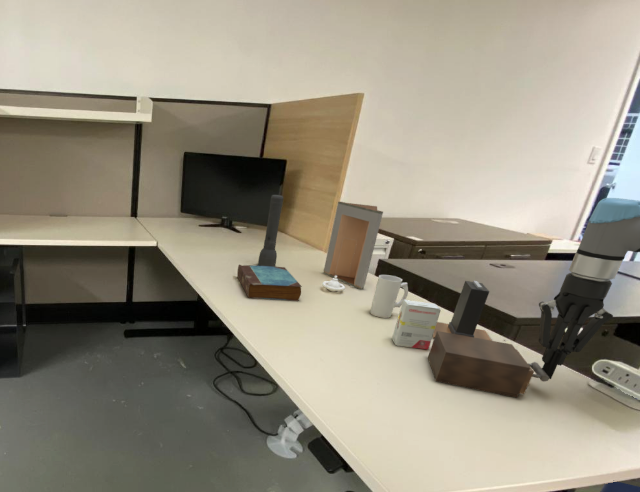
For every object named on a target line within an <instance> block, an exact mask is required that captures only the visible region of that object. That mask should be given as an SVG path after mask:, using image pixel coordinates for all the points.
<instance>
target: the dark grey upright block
mask: <svg viewBox="0 0 640 492" xmlns="http://www.w3.org/2000/svg"><path fill="white" fill-rule="evenodd" d="M489 294H490V290H489V289H488V288H487V287H486V286H485V284H483V283H482V282H479V281H477V280H473V281H470V280H465V281H464V283H463V286H462V289H461V292H460V295H459V297H458V300H457V303H456V306H455V309H454V311H453V314H452V317H451V320H450V321H449V322H448V324H449V325H448V327H449V329H450V331H451V333H452V334H457V335H463V336H468V337H474V332H475V329H477V327H478V323H479V322H480V318H481V316H482V313H483V311H484V308H485V306H486V305H485V304H486V302H487V300H488V297H489Z"/></svg>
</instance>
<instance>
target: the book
mask: <svg viewBox="0 0 640 492" xmlns="http://www.w3.org/2000/svg"><path fill="white" fill-rule="evenodd" d="M236 277H237V279H238V281H239V282H240V285H241V286H242V288H243V290H244V292H245V294H246V296H247V297H248V299H257V300H258V299H260V300H273V301H274V300H275V301H292V302H294V301H295V302H300V300H299V299H300V297H301V294H302V287H303V285H301V284H300V282H299V281H298V280H297V279H296V278H295V277H294V276H293V275H292V274H291V272H290V271H288V269H287V268H286V267H285V266H275V267H272V266H258V265H251V264H248V265H247V264H243V265H242V264H238V266H237V275H236Z"/></svg>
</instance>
